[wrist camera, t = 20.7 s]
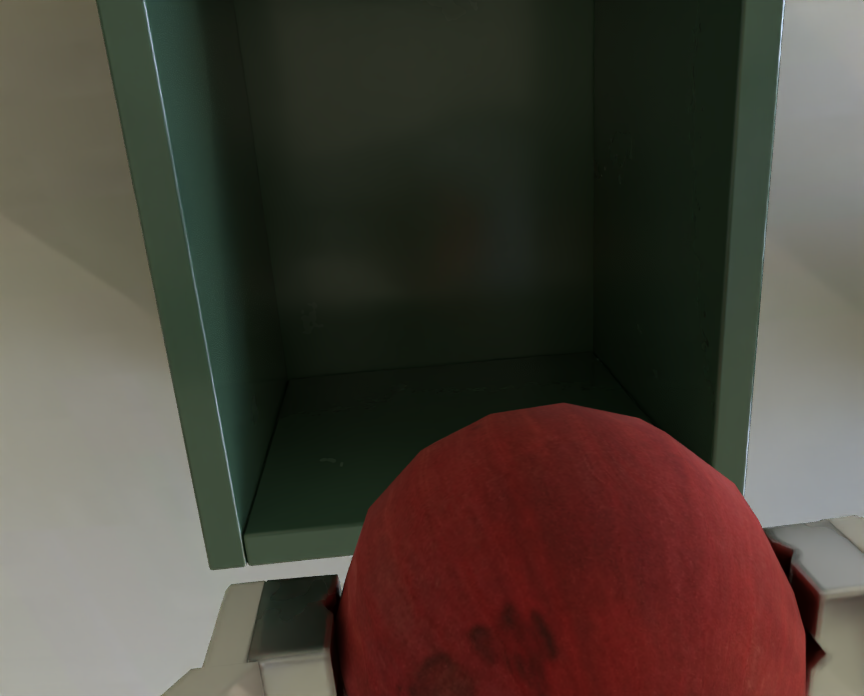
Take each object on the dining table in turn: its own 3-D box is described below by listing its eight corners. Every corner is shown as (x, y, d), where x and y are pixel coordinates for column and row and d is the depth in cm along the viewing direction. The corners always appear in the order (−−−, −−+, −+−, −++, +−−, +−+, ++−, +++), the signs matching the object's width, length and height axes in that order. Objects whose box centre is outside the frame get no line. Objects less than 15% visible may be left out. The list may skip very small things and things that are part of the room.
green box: (608, 362, 25) (744, 516, 16) (270, 394, 25) (209, 571, 15) (615, -213, 20) (827, -481, 11) (180, -190, 19) (3, -453, 10)
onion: (381, 643, 14) (389, 1264, 7) (316, 369, 12) (221, 807, 5) (676, 586, 14) (1017, 1140, 7) (657, 305, 12) (1102, 637, 5)
